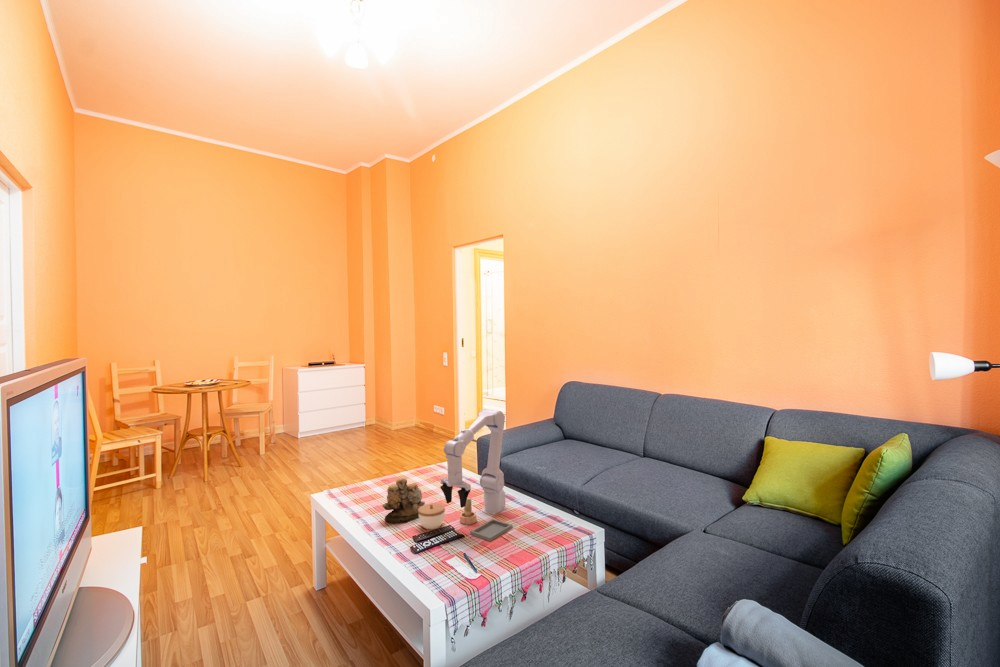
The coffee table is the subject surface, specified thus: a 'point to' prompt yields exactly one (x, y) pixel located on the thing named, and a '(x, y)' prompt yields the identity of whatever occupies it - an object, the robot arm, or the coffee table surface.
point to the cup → (468, 518)
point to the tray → (491, 529)
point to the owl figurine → (403, 502)
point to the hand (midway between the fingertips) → (456, 504)
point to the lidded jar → (431, 515)
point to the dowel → (468, 508)
